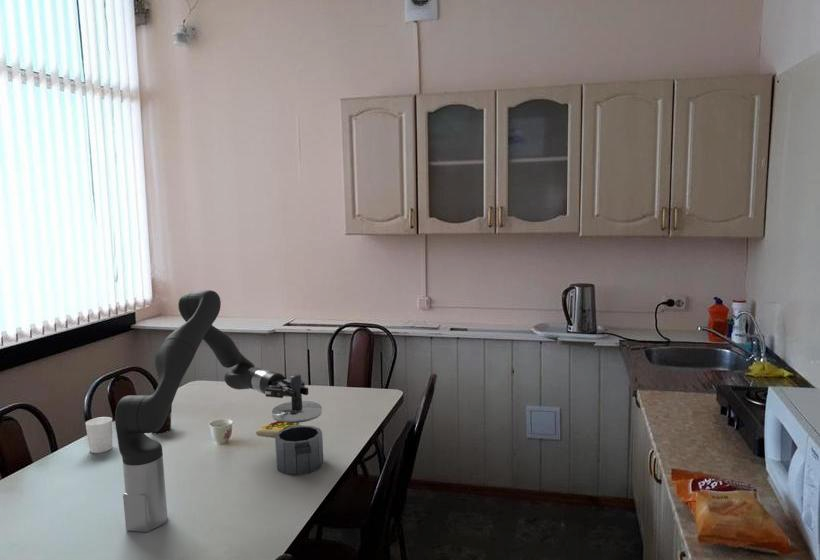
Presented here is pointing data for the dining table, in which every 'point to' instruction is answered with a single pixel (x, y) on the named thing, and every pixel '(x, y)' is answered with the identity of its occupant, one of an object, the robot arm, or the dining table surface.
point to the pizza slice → (274, 428)
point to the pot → (299, 450)
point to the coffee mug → (166, 423)
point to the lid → (296, 406)
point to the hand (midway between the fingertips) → (302, 393)
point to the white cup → (99, 434)
